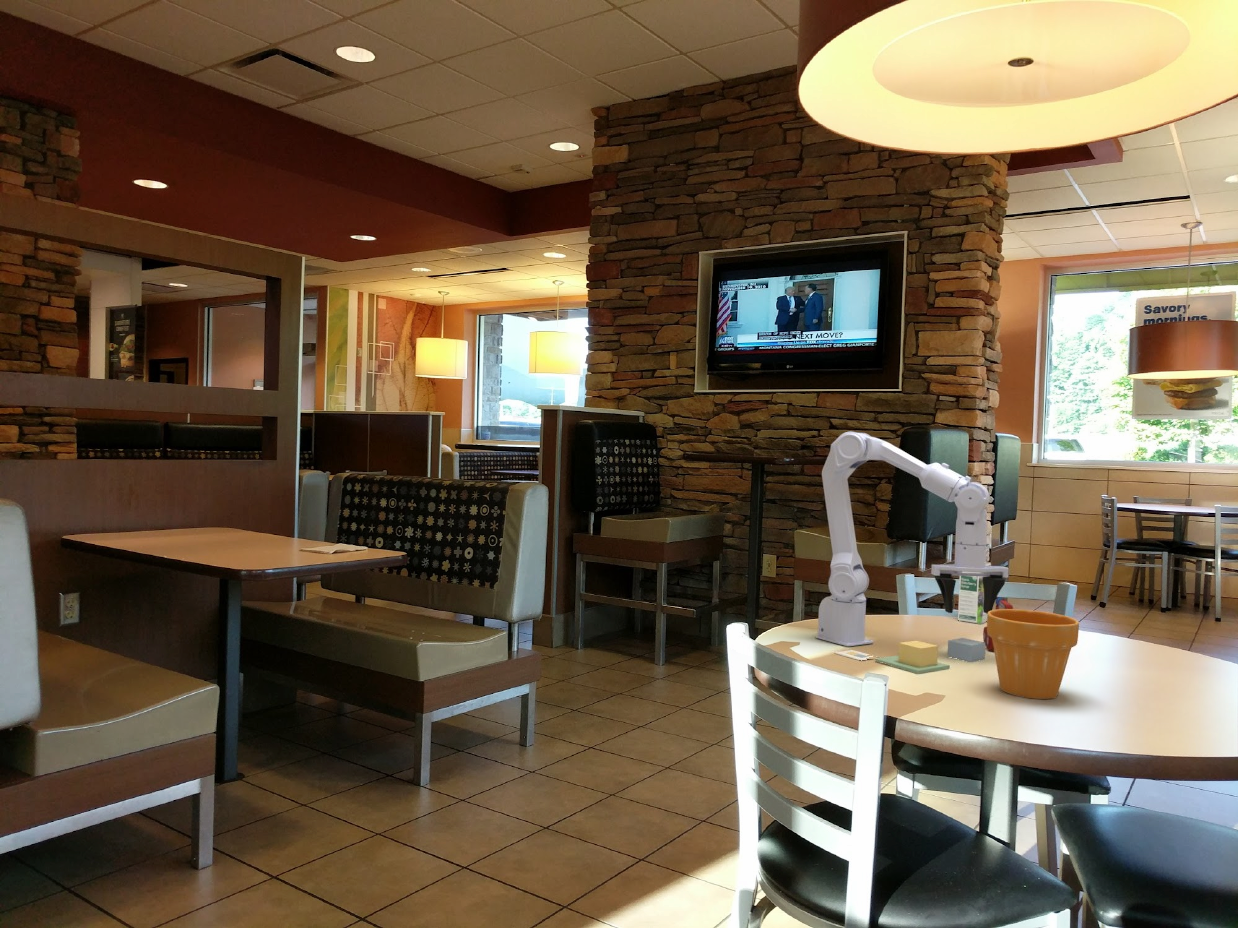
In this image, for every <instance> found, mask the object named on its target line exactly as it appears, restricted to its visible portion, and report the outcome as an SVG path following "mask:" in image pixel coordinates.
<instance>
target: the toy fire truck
mask: <svg viewBox="0 0 1238 928" xmlns="http://www.w3.org/2000/svg"><path fill="white" fill-rule="evenodd" d="M997 609H1014V607H1013V605H1012V604H1011V603H1010V602H1008V601H1007V600H1006V599H1005V598H1004V597H1003V596H999V597H997V598H996V600H995V608H994V610H997ZM982 635H983V638H982V639H983V640H982V642H985V647H986V650H987V651H990V652H994V646H993V641H992V638H991V637H990V636H989V635H988V634H987V626H984V628H983V634H982Z"/></svg>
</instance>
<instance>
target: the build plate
mask: <svg viewBox="0 0 1238 928" xmlns="http://www.w3.org/2000/svg"><path fill="white" fill-rule="evenodd" d="M875 660H876V661H878V662H883V663H886V664H888V665H892V666H894V667H893V668H895V667H897V668H896V669H899V668H902V669H903V670H904V671H906V670H908V671H907V672H909V671H912V672H911V673H913V672H914V674H916V673H918V674H917V675H920V674H919V673H921V674H926V673H930V672H929V671H933V672H938V671H942V670H943V669H944V670H948V669H947V668H950V667H951V666H950V664H946V663H942V662H939V661H937V665H931V666H925V667H917V666H913V665H910V664H906V663H902V662H899V661H898V655H891V656H884V657H880V658H876V659H874V661H875ZM888 665H887V666H888ZM892 666H891V667H892ZM902 669H901V670H902ZM950 669H951V668H950ZM937 670H938V671H937ZM944 670H943V671H944Z"/></svg>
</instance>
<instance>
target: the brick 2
mask: <svg viewBox="0 0 1238 928" xmlns="http://www.w3.org/2000/svg"><path fill="white" fill-rule="evenodd" d="M949 657H952V658H951V659H953V658H957V659H959V660H958V661H962V660H964V661H963V662H966V661H967V663H970V662H971V663H975V662H979V660H980V661H983V660H986V645H985V642H984V641H980V640H975V639H970V638H964V637H959V638H955V639H949V640H948V641H947V658H949ZM957 659H956V660H957Z"/></svg>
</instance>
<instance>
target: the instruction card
mask: <svg viewBox="0 0 1238 928" xmlns="http://www.w3.org/2000/svg"><path fill="white" fill-rule="evenodd" d="M834 654H836V655H838V656H843V657H846V658H849V659H853V660H856V661H859V660H861V661H860V662H863V661H862V660H866V661H868V660H867V659H866V658H869V657H873V656H874V655H872V656H867V655H870V654H868V653H865V652H861V651H857V650H854V649H849V650H844V651H843V650H842V651H835V652H834Z"/></svg>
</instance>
